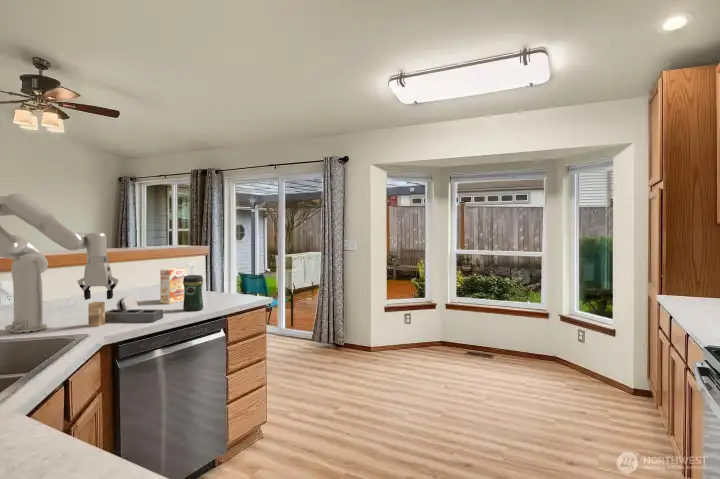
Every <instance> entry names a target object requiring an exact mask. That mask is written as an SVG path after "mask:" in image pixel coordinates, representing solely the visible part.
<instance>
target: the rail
mask: <svg viewBox="0 0 720 479" xmlns="http://www.w3.org/2000/svg"><path fill="white" fill-rule="evenodd" d="M163 318H164V309H159V308H158V309H157V308H156V309H146V308H145V309H143V308H141V309H118V308H116V309H114V308H112V309H110V310H109V309H108V310H105V323H155V322H157V321H159V320H161V319H163Z"/></svg>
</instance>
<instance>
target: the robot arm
mask: <svg viewBox="0 0 720 479" xmlns="http://www.w3.org/2000/svg"><path fill="white" fill-rule="evenodd" d="M3 216H6V217H7V216H15V217H17V218H19V219H20V220H22V221H23V222H24V223H26V224H28V225H29V226H31V227H33V228H34V229H35V230H37V231H38V232H39V233H41V234H43V236H44V237H46V238H48V239H49V240H50V241H52V242H54V244H55V243H56V245H58V246H60V247H61V248H64V249H65V250H67V251H77V250H78V251H79V250H83V249H86V263H85V266H84V267H85V268H84V274H83V276H84V277H82V278H80V279H77V284H78V286H79V287H80V288H81V289H82V291H83V297H84V300H85V301H87V300H90V299H91V298H92V296H91V295H92V294H91V289H90V288H91V287H105V288H106V289H107V290H106V299H107V300H110V299H113V296H114V289H115V287H117V285H118V283H119V279H118V278H116V277H114V276H113V275H112V274H113V273H112V269H111V266H110V265H111V264H110V263H109V262H110V261H111V260H110V257H108V253H107V252H108V251H107V247H108V246H107V235H106V233H104V232H88V233H87V232H85V233H84V232H75V231H74V230H72V229H70V228H68V227H67V226H65V225H64V224H62V223H61V222H60V221H58V219H57V218H56V216H55V215H54V214H53V213H52V212H50V211H48V209H45V208H44V207H42V206H41V205H39V204H38V203H36V202H35V200H34V199H33V197H31V196H29V195H27V194H23V193H17V192H15V193H14V192H13V193H10V194H8V195H0V217H3ZM0 258H2V259H5V258H6V259H11V260H12V264H11V268H10V269H11V270H10V271H11V277H12V278H11V279H12V285H13V288H12V289H13V290H12V293H13V320H12V321H11V324H8V325H5V327H4V329H5V331H8V332H9V333H12V332H13V334H19V333H20V334H23V333H22V332H25V333H31V332H30V331H33V332H38V330H39V331H42V330H45V329H47V328H48V324H46V323H43V322H44V321H43V318H44V317H43V313H44V312H43V280H42V274H43V273H44V272H46V270H48V269H47V268H48V267H49V261H48V259H47V257H46V256H45V255H44V254H43V253H42V252H40V250H38V249H37V247H35V246H34V245H33V244H32V243H31V242H30V241H28V240H27V239H26V238H24V237H22V236H21V235H17V234H11V233H9V232H8V231H7V230H6V229H5V228H4V227H2V225H0ZM108 261H109V262H108Z"/></svg>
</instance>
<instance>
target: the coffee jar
mask: <svg viewBox="0 0 720 479" xmlns="http://www.w3.org/2000/svg"><path fill="white" fill-rule="evenodd" d="M203 284H204V280H203V276H202V275H201V274H200V275H199V274H187V276H184V280H183V285H184V301H183V305H182V307H183V311H186V312H196V311H202V310H203V309H204V299H203V292H202V291H203V290H202V289H203Z"/></svg>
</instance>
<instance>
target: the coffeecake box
mask: <svg viewBox="0 0 720 479" xmlns="http://www.w3.org/2000/svg"><path fill="white" fill-rule="evenodd" d="M159 270H160V278H159V279H160V280H159V281H160V285H159V286H160V287H159V288H160V289H159V291H160V292H159V293H160V294H159V296H160V297H159V301H160V304H166V305H172V304H176V302H177V303H180V301H181V302H184V285H183V280H184V276H187V275H189V274H188V270H189V268H188V267H174V268H165V269H164V268H163V269H159Z"/></svg>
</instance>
